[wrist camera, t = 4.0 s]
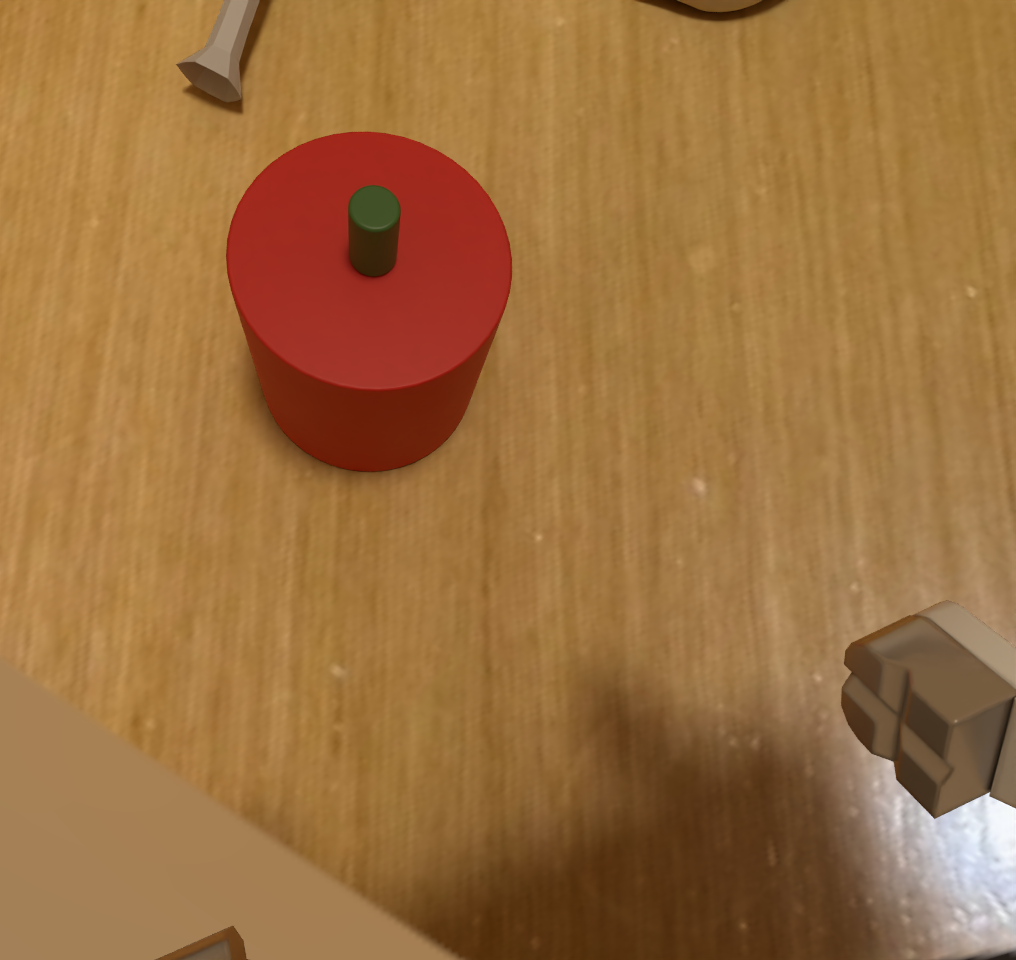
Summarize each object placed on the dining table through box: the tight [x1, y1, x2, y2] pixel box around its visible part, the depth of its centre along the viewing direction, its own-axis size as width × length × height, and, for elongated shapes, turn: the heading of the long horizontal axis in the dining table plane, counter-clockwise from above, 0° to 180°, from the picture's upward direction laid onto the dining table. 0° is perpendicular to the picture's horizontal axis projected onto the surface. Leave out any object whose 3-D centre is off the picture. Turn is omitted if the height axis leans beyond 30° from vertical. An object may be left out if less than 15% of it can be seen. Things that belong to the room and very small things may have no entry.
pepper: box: [226, 132, 512, 471], centre depth 21 cm, size 6×6×9 cm
